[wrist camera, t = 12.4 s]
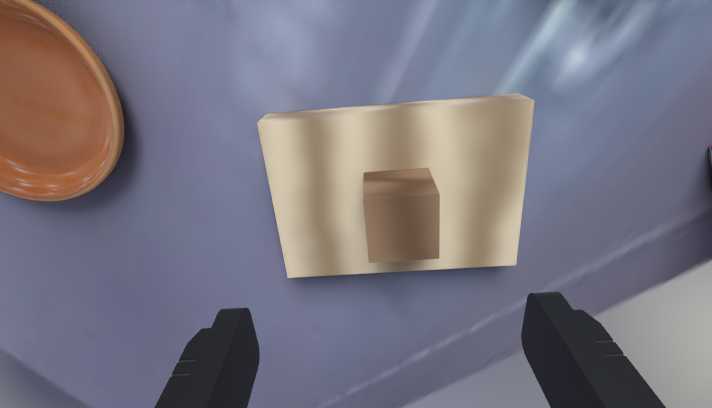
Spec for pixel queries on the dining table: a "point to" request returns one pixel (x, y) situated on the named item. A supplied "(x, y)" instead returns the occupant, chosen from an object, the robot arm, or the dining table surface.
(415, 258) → the walnut cube
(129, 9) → the dining table surface
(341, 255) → the wooden block
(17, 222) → the dining table surface
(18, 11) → the saucer
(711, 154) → the candy bar box
